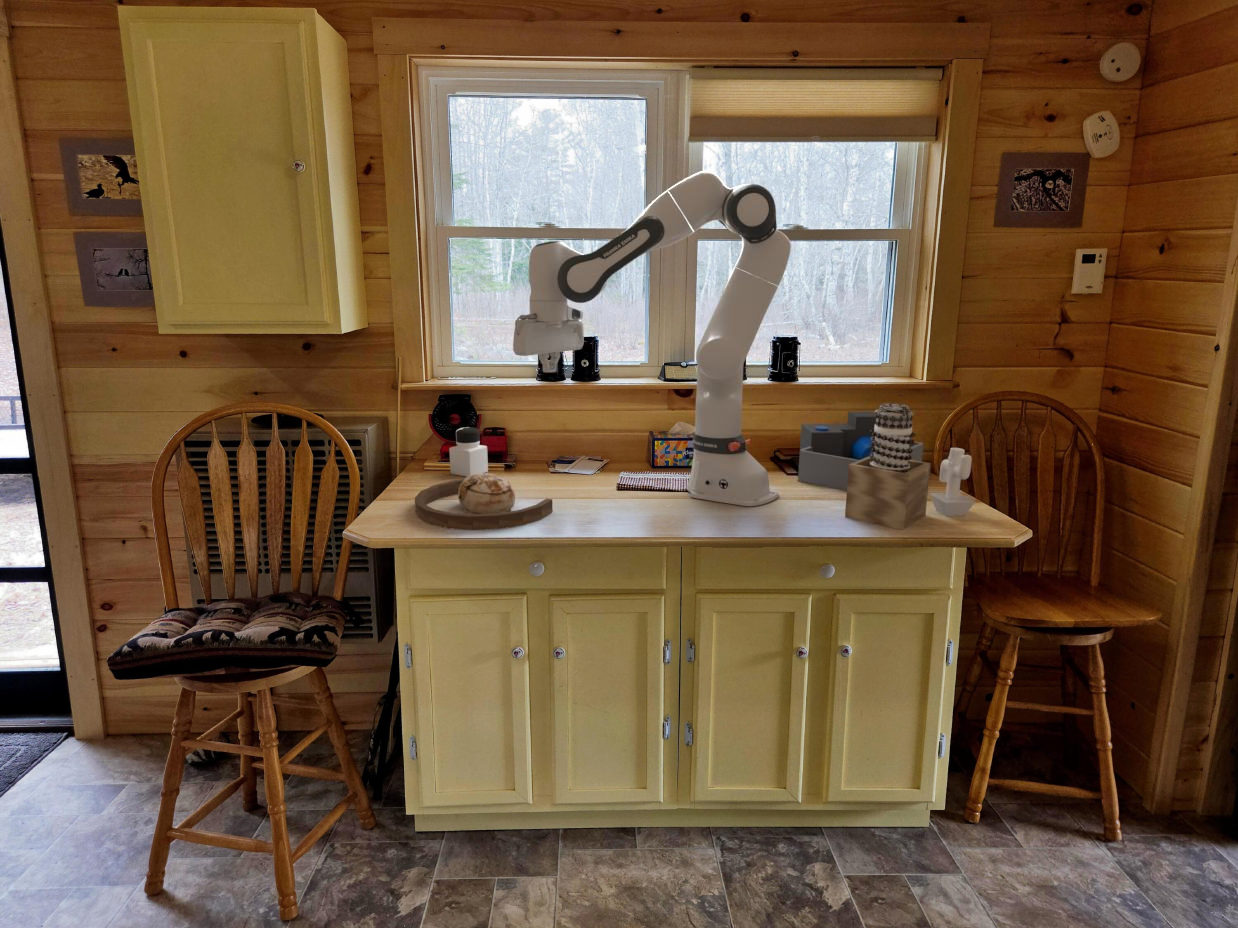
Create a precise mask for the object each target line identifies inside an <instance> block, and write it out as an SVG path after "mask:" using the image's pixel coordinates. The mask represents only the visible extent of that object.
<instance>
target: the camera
mask: <svg viewBox="0 0 1238 928" xmlns="http://www.w3.org/2000/svg"><path fill="white" fill-rule="evenodd" d="M846 421H847V423H801V425H800V440H799V441H800V442H799V443H800V444H799V451H800V450H801V449H804V448H806V447H809V446H810V447H813V452H816V453H822V454H828V455H833V456H839V457H845V458H851V459H856V460H861V459H863V458H866V457H868V456H870V453H872V452H873V451H872V450H871V449H870V445H871V444H872V443H871V442H870V440H871V437H873V435H872V433H871V432H870V431H871V430H873V431H874V427H875V424H876V412H873V411H867V410H865V411H863V410H862V411H855V410H854V411H847V420H846ZM874 441H875V439H874ZM873 448H874V447H873Z"/></svg>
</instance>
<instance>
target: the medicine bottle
mask: <svg viewBox="0 0 1238 928" xmlns="http://www.w3.org/2000/svg"><path fill="white" fill-rule="evenodd" d="M480 437H481V435H480V430H479V428H476V427H469V426H467V427H460V428H458V429H456V431H455V438H456V439H455V440H456V441H455V442H456V443H455V444H456V445H455V446H454V445H453V446H451V447H449V450H448V451H449V467H450V468H449V469H450V470H449V471H450V475H455V476H456V475H457V476H460V477H465V478H467V477H468V476H470V475H473V474H477V473H489V463H488V461H489V460H488V459H489V458H488V446H487V445H482V444H480V442H481V441H480V440H481V439H480Z"/></svg>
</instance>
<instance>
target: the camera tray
mask: <svg viewBox="0 0 1238 928" xmlns="http://www.w3.org/2000/svg"><path fill="white" fill-rule="evenodd" d="M909 448H911V449H912V450H913V452H912V453H910V454H909V453H908V455H910V456H911V457H912V459H911V460H914V461H920V462H923V452H924V451H923V450H924V442H918V441H914V443H913V444H909ZM856 461H859V460H856V459H851V458H845V457H839V456H833V455H828V454H822V453H816V452H813V447H810V446H809V447H806V448H804V449H801V450H800V449H799V458H798V477H797V482H801V483H806V484H810V485H815V486H822V487H826V488H830V489H834V490H835V489H836V490H839V491H840V490H841V491H846V492H847V483H848V470H849V464H851V463H854V462H856Z"/></svg>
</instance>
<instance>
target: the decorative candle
mask: <svg viewBox="0 0 1238 928" xmlns="http://www.w3.org/2000/svg"><path fill="white" fill-rule="evenodd" d="M874 413H875V414H876V424H875V427H874V431H873V430H871V431H870V432H871V433H872V435H873V437H871V440H870V442H871V443H872V444H871V445H870V449H871V450H872V451H873V452H872V453H870V458H871V460H870V465H871V466H872V467H873V468H878V469H884V470H890V471H895V472H901V473H906V472H907V469H908V468H910V464H909V463H908V461H909V460H911V459H912V457H911V456H910V455H908V453H909V454H910V453H912V452H913V450H912V449H911V448H909V444H913V443H914V442H915V440H914V439H913V438H914V437H915V436H916V433H915V432H913V416H914V415H915V413H914V412H912V410H911V409H910V406H909V405H906V404H902V403H889V402H888V403H883V404H881V405H879V408H878V409H875V410H874ZM874 439H875V441H874ZM873 447H874V448H873Z"/></svg>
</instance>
